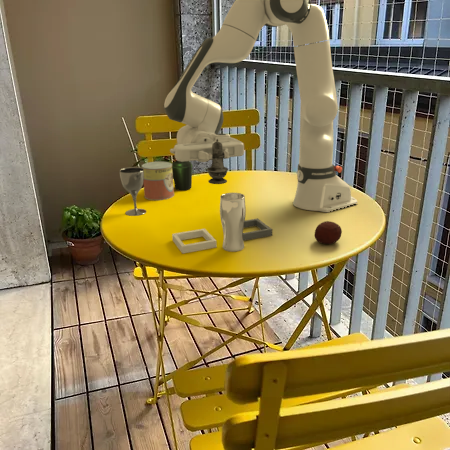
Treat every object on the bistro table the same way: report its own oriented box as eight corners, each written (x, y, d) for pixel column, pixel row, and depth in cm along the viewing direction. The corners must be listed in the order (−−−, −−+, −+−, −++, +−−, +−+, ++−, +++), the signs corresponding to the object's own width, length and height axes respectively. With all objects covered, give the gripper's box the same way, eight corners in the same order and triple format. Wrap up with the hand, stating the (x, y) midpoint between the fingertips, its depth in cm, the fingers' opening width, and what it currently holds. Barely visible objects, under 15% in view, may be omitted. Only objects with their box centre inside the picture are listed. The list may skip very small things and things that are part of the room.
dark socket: (257, 224, 143) (257, 218, 142) (272, 235, 134) (272, 229, 133) (228, 229, 139) (228, 223, 139) (241, 241, 131) (241, 234, 130)
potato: (347, 243, 128) (349, 223, 126) (326, 250, 124) (327, 230, 121) (329, 235, 134) (330, 216, 131) (307, 241, 130) (308, 222, 127)
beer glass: (220, 242, 130) (218, 193, 124) (244, 241, 130) (243, 191, 125) (222, 253, 124) (220, 200, 118) (247, 251, 124) (247, 199, 118)
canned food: (165, 201, 166) (162, 169, 162) (138, 198, 170) (135, 167, 166) (179, 192, 176) (177, 162, 172) (154, 190, 180) (151, 160, 176)
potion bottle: (182, 192, 176) (179, 146, 169) (168, 188, 181) (165, 144, 174) (197, 187, 181) (195, 143, 175) (183, 184, 186) (181, 140, 180)
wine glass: (127, 217, 151) (123, 174, 146) (121, 210, 158) (116, 168, 152) (150, 213, 154) (146, 170, 149) (143, 207, 161) (139, 165, 155)
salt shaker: (229, 178, 130) (228, 136, 125) (227, 184, 124) (227, 141, 120) (208, 178, 130) (207, 136, 126) (205, 184, 125) (205, 140, 120)
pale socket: (204, 234, 136) (204, 228, 135) (216, 247, 127) (216, 240, 126) (172, 240, 133) (172, 233, 132) (182, 253, 124) (182, 246, 123)
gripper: (167, 138, 131) (181, 148, 119) (233, 133, 138) (252, 142, 126) (168, 160, 133) (182, 171, 121) (233, 154, 140) (251, 164, 128)
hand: (218, 156), depth 124 cm, fingers closed on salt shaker, 3 cm apart
